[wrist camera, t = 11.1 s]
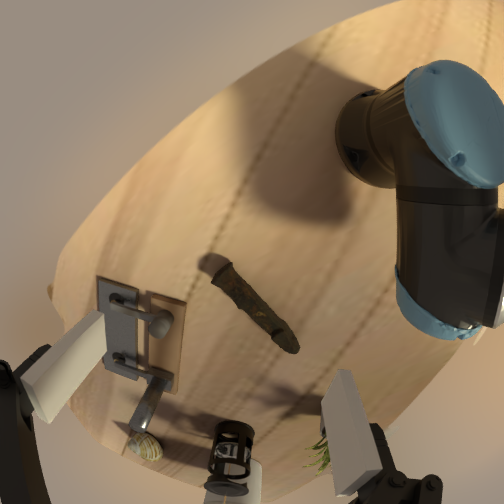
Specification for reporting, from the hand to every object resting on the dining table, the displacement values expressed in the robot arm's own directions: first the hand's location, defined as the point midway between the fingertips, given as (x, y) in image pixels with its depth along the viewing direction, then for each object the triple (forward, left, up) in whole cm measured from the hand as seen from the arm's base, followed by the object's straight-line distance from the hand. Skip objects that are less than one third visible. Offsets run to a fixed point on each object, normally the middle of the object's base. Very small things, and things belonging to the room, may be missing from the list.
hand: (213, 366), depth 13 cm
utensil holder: (-10, +64, -29) cm, 71 cm away
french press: (-6, +46, -29) cm, 55 cm away
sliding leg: (+15, +30, -27) cm, 43 cm away
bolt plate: (+21, +24, -29) cm, 43 cm away
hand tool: (-5, +10, -29) cm, 31 cm away
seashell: (+15, +61, -29) cm, 70 cm away
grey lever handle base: (+15, +24, -29) cm, 40 cm away
